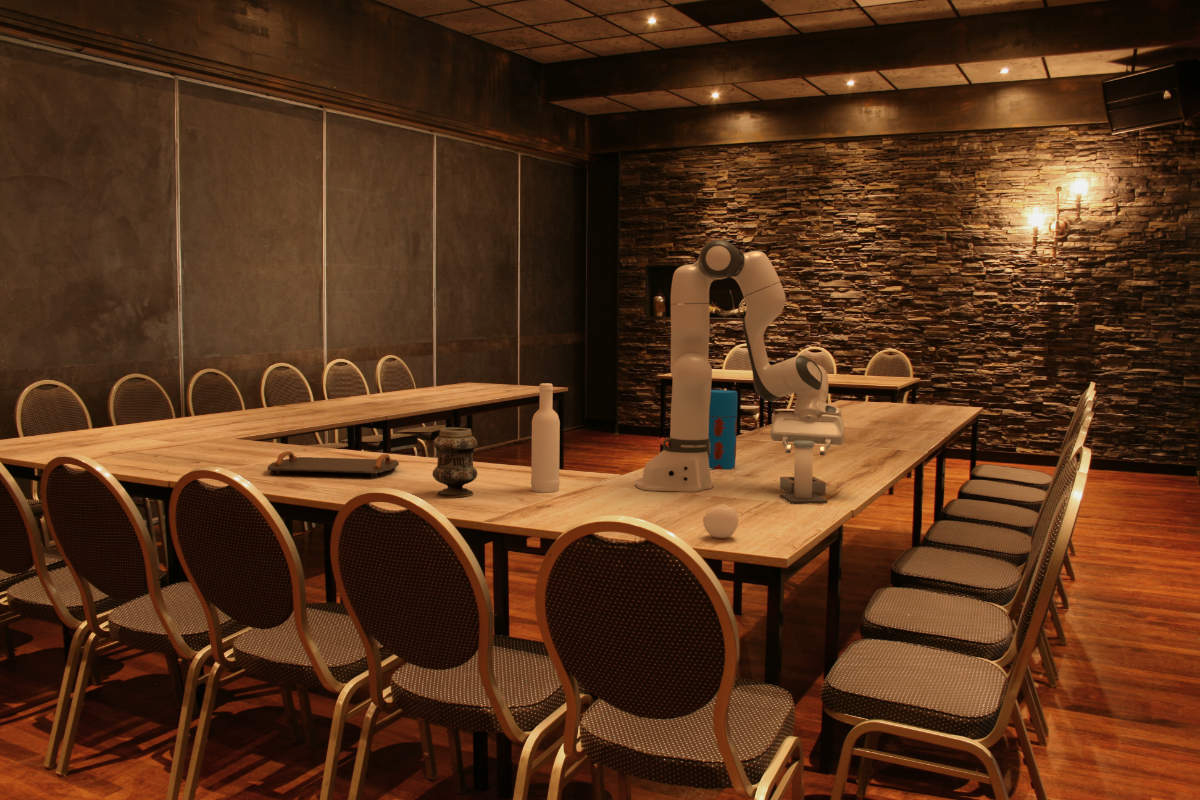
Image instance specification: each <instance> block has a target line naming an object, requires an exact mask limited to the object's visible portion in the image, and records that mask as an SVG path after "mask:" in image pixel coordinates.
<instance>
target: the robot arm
mask: <svg viewBox="0 0 1200 800" xmlns="http://www.w3.org/2000/svg"><path fill="white" fill-rule="evenodd" d="M727 278H731V279H733V280H735V282H736V283H737V284H738V286H739V288H740V291H741V293H742V296H743V299H744V301H745V307H746V309H745V310H746V311H745V315H744V317H743V318H742V328H743V335H744V339H745V344H746V348H747V349H746V350H747V354H748V357H749V362H750V366H751V371H752V380H753V382H752V383H753V388H754V391H755V393H756V395H757V396H758V397H760V398H761V399H763V400H764V401H767V402H770V403H772V402H775V401H778V400H779V399H783V398H784V397H786V396H789V395H792V394H793V395H794V394H795V395H796V397H797V399H796V400H795V403H794V410H793V412H783V411H782V412H781V411H780V412H779V411H778V412H777V413H774V414H773V415H772V416H771V428H770V439H771V440H772V441H773V442H782V445H783V447H784V448H785V449H784V452H785V454H791V452H792V445H791V444H788V443H794V441H797V440H807V441H814V444H820V445H823V446H820V447H819V455H820V456H826V455H827V453H826V452H827V451H828V450H829V449H830V448H831V446H832V445H834V446H835V445H837V446H841V445H843V444H844V443H845V425H844V419H843V418H842V411H841V410H842V409H841V408H839V407H837V406H834V405H831V404H827V403H826V401H827V400H828V396H829V379H828V378H829V377H828V373H827V371H826V369H825V368H824V367H823V366H821V365H819V364H817V363H816V362H814V361H813V360H812V359H811V358H809V357H807V356H805V355H803V354H802V355H801V354H800V355H797V356H794V357H790V358H788V359H785V360H783V361H780V362H777V363H775V364H770V363H769V359H768V353H767V349H766V346H765V341H764V335H765V332H766V329H767V328H768V327H769V326H770V325H771V323H773V322H774V321H775V320H776V319H777V318H778V317H779V316H780V314H782V312H783V310H784V308H785V305H786V294H785V293H786V292H785V291H784V288H783V284H782V282H781V280H780V277H779V276H778V273H777V271H776V269H775V268H774V265H773V264H772V262H771V260H770V259H769V258H768V256H767V254H765V252H763V251H761V250H753V251H748V252H743V251H741V250H739V248H737V247H736V246H735V245H733V244H732V243H730V242H729V241H727V240H724V239H720V238H717V239H713V240H711V241H708V242H706V244H704V246H703V247H702V248H701V250H700V252H699V255H698V258H697V260H696V261H695V262H694V263H692V264H684V265H681V266H679V267H678V268H676V269H675V271H674V273H673V274H672V281H671V289H670V374H671V378H672V385H671V386H672V387H671V404H670V405H671V406H670V431H669V433H670V434H669V435H670V436H669V437H668V438H665V437H661V438H660V439H659V444H660V445H662V446H663V447H662V449H663V450H662V451H660V452H659V453H658V454H656V455H655V456H654V457H652V458H651V459H650V460H648V461H647V462H646V463H645V465H644V468H643V472H642V473H643V474H642V478H638V479H636V480H635V482H634V485H635V486H636V487H637V488H638V489H640V490H643V491H651V492H652V491H655V492H659V491H660V492H661V491H662V492H690V493H691V492H693V493H694V492H695V493H696V492H701V491H703V490H708V489H711V488H713V487H714V486H713V485H714V484H713V482H712V478H711V477H712V476H711V469H709V455H710V439H709V438H708V435H709V408H710V397H711V390H712V381H713V378H712V377H713V369H712V364H711V363H710V361H709V351H710V345H709V344H710V329H711V327H710V321H711V320H710V287H711V285H712V283H713V282H716V281H718V280H723V279H727Z"/></svg>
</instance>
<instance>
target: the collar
mask: <svg viewBox="0 0 1200 800" xmlns="http://www.w3.org/2000/svg"><path fill="white" fill-rule="evenodd" d="M779 477H780V478H779V490H781V489H782V491H783V490H784V491H783V492H785V491H786V492H787V493H786V492H785V493H786V494H788V493H789V494H794V476H779ZM826 488H827V482H826V481H824V480H821V479H819V478H818V477H816V476H812V494H816V495H818V496H824V495H823V494H825V495H826V494H827V493H826V491H827V490H826Z"/></svg>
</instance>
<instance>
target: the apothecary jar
mask: <svg viewBox="0 0 1200 800" xmlns="http://www.w3.org/2000/svg"><path fill="white" fill-rule="evenodd" d="M432 445H433V447H434V449H436V450H437V462H436V463H437V464H436V465H437V466H435V468H434V469H433V471H432V477H433V479H434V480H435V481H436V482H438V483H440V484H443V485H445V486H447V487H446V488H442V489H441V490H440V491H437V493H436V495H437V496H439V497H443V498H464V497H465V498H466V497H469V496H473V495H474V492H473V491H472V490H471V489H468V488H465V487H464V485H467V484H469V483H472V482H474V481H475V480H476V479H477V477H478V471H477V468H476V467H474V460H473V457H474V455H473V454H474V450H475V449H476V448H477V447H478V440H477V439H476V438H475V437H474V436H473V433H472V429H471V428H467V427H443V428H440V429H439V434H438V436H437V437H435V439H434V441H433V444H432Z"/></svg>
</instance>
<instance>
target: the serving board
mask: <svg viewBox="0 0 1200 800" xmlns="http://www.w3.org/2000/svg"><path fill="white" fill-rule="evenodd" d="M286 457H288V458H286ZM284 458H285V459H284ZM276 459H277V460H276V461H274V462H272V463H269V464H268V466H267V471H269V475H270V476H272V477H273V476H275V477H276V476H277V475H278V471H280V472H281V471H283V472H284V471H285V472H286V471H287V472H310V473H311V472H314V473H315V472H316V473H346V474H347V473H351V474H354V473H355V474H370V476H369V478H370V479H374V480H377V479H378V477H379V476H378V474H379V473H384V472H387V471H391V470H395V469H396V468H397V467H399V465H400V463H399V461H398V460H396V459H392V458H391V457H390V455H389V453H384V454H380V455H379V456H378V457H377V459H375V458H354V457H353V458H350V457H349V458H347V457H313V456H312V457H310V456H296V455H295V453H293V451H288V450H287V451H282V452H281V453H280V454H279V455H278V456H277V458H276Z"/></svg>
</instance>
